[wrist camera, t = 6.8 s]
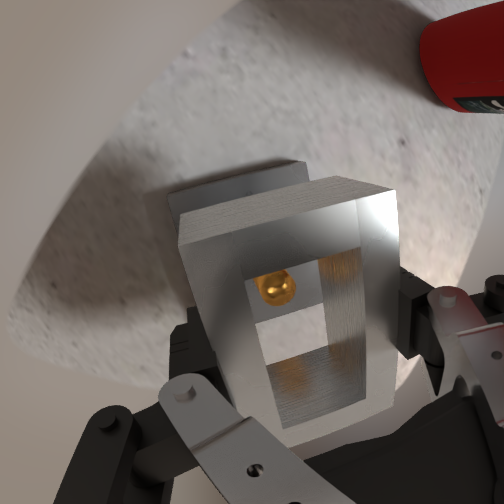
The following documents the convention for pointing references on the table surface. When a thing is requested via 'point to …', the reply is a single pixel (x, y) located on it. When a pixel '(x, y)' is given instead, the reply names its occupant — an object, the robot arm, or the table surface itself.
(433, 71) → the beverage can
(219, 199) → the grey peg base
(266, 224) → the silver frame
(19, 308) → the table surface
